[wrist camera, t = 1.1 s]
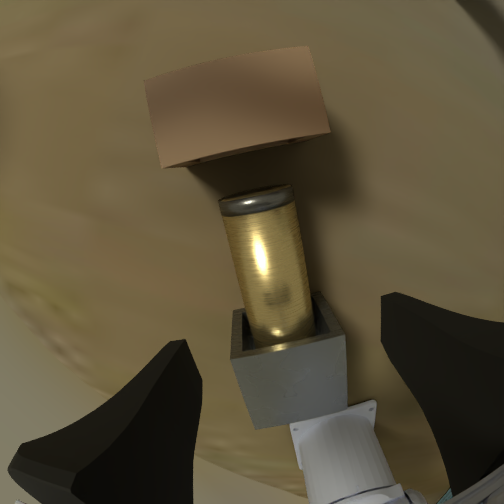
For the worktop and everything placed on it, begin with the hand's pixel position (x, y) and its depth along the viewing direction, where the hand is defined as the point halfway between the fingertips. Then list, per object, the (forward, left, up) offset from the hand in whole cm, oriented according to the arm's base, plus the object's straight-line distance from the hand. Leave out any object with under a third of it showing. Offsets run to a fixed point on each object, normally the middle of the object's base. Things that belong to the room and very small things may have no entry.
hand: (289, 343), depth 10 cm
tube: (-2, 0, -8) cm, 8 cm away
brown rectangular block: (+9, 0, -8) cm, 12 cm away
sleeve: (-6, 0, -8) cm, 10 cm away
